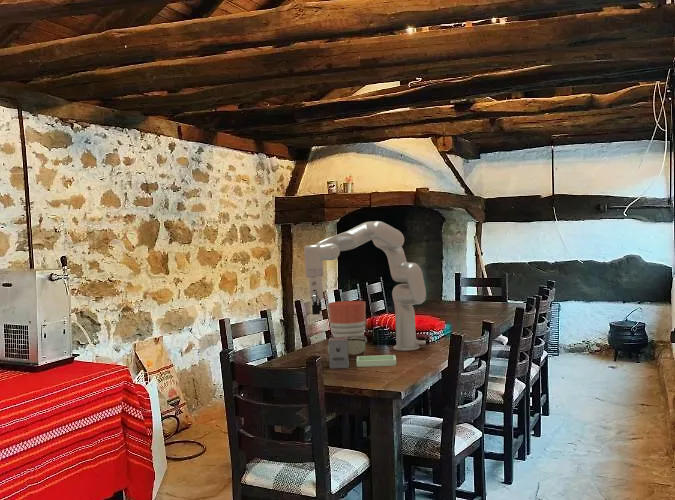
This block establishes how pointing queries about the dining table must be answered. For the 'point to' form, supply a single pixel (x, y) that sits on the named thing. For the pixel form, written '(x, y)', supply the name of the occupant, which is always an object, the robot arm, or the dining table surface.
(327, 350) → the walnut cartridge
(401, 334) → the robot arm
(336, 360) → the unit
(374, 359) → the tray
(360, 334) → the planter
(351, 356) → the food container
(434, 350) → the dining table surface
